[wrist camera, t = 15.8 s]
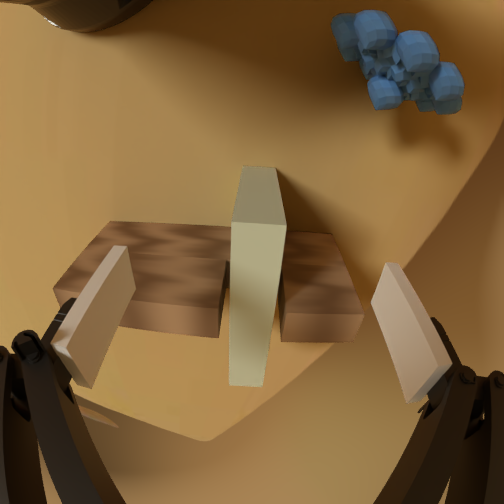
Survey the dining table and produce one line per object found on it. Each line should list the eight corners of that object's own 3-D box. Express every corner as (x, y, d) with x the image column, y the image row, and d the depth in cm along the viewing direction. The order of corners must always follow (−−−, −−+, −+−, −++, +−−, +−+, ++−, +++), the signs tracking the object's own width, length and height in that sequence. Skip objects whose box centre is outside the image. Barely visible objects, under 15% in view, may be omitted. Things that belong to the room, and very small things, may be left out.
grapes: (293, 73, 21) (322, 58, 11) (325, 15, 18) (373, -31, 8) (398, 137, 24) (475, 175, 13) (427, 84, 20) (512, 96, 10)
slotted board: (114, 244, 31) (63, 315, 20) (109, 221, 29) (52, 288, 19) (326, 258, 31) (352, 342, 21) (331, 234, 29) (364, 314, 19)
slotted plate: (242, 165, 26) (231, 221, 16) (275, 168, 26) (286, 225, 16) (236, 299, 34) (229, 385, 24) (262, 301, 34) (262, 386, 24)
